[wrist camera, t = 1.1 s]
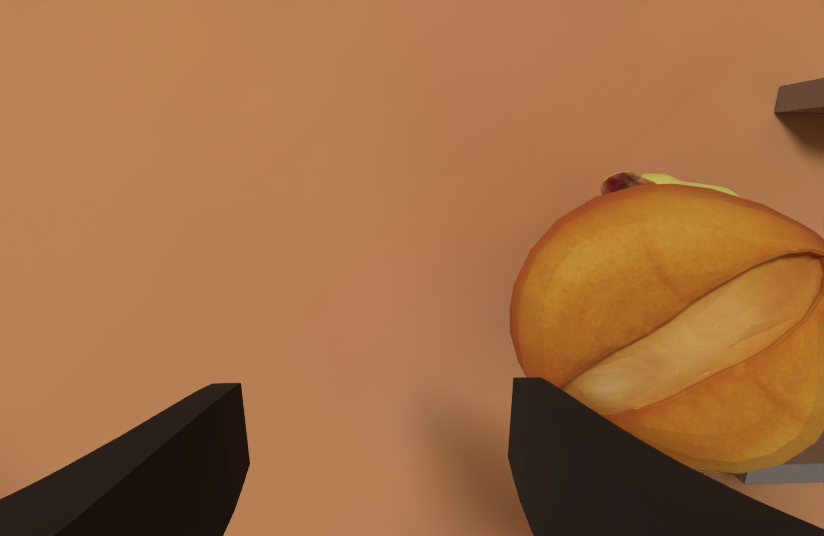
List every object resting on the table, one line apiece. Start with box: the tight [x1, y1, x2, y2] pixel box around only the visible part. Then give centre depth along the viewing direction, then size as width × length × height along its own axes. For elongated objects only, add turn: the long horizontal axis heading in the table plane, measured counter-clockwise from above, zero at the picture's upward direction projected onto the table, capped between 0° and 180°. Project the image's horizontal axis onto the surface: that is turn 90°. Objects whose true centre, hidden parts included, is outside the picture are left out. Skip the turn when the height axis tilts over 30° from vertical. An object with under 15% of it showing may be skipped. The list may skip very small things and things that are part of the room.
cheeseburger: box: [510, 171, 824, 474], centre depth 15 cm, size 10×11×10 cm
